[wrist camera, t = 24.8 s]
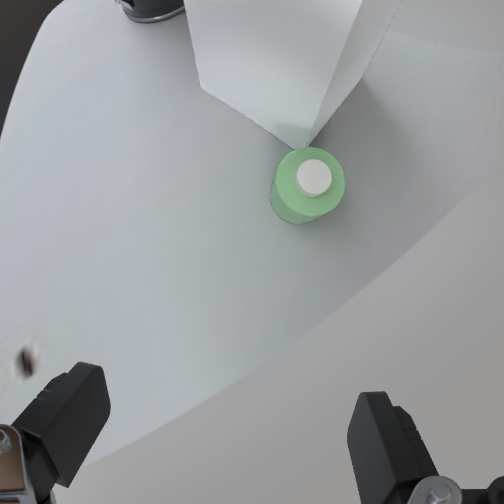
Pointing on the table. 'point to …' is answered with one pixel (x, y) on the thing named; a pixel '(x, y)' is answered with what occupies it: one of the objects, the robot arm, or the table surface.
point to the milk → (286, 57)
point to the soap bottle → (307, 185)
